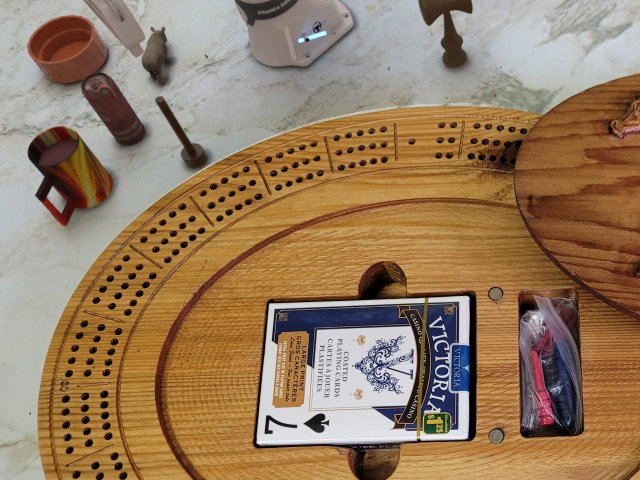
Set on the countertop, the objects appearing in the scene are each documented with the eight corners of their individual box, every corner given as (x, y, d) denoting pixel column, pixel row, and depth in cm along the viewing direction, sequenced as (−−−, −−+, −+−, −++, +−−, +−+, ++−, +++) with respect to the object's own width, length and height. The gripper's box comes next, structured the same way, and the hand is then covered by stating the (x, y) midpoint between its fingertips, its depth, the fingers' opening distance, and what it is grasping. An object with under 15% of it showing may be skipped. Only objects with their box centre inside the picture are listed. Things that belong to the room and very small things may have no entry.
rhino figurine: (179, 38, 178) (166, 14, 173) (167, 84, 172) (154, 62, 166) (160, 39, 178) (147, 16, 173) (148, 86, 172) (134, 63, 167)
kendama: (482, 62, 167) (470, -24, 150) (437, 77, 167) (420, -8, 149) (472, 43, 170) (459, -44, 152) (428, 58, 169) (410, -29, 151)
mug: (65, 231, 156) (27, 190, 146) (63, 177, 163) (27, 134, 152) (115, 217, 157) (81, 175, 146) (111, 164, 163) (78, 120, 152)
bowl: (91, 28, 182) (76, 5, 176) (120, 61, 176) (106, 38, 171) (33, 61, 178) (16, 38, 173) (61, 96, 173) (44, 74, 167)
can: (140, 148, 164) (104, 96, 152) (112, 145, 165) (73, 92, 153) (152, 125, 167) (117, 72, 154) (124, 122, 168) (87, 69, 155)
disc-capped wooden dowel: (200, 147, 163) (163, 86, 149) (211, 160, 162) (175, 99, 147) (181, 159, 162) (142, 99, 148) (192, 172, 161) (154, 112, 146)
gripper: (128, -14, 120) (171, 61, 133) (68, -77, 128) (114, -1, 141) (90, 8, 119) (137, 81, 131) (32, -57, 127) (81, 18, 139)
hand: (124, 38), depth 136 cm, fingers open, 8 cm apart
